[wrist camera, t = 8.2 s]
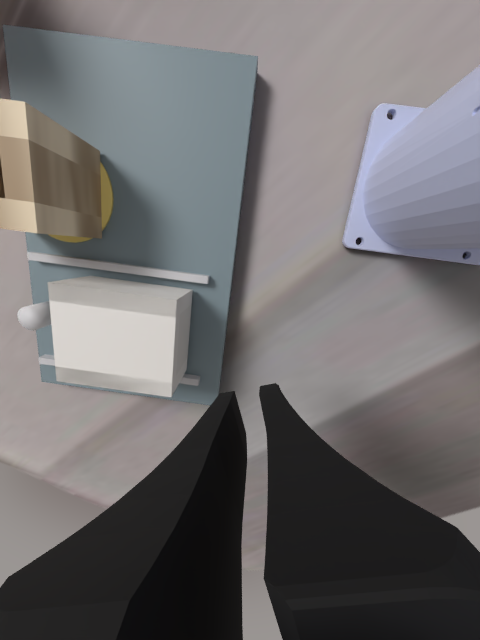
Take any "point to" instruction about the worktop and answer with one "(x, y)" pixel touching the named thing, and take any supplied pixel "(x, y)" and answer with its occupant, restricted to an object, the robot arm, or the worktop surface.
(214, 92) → the board
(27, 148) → the collar
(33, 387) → the worktop surface
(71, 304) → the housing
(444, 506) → the worktop surface
